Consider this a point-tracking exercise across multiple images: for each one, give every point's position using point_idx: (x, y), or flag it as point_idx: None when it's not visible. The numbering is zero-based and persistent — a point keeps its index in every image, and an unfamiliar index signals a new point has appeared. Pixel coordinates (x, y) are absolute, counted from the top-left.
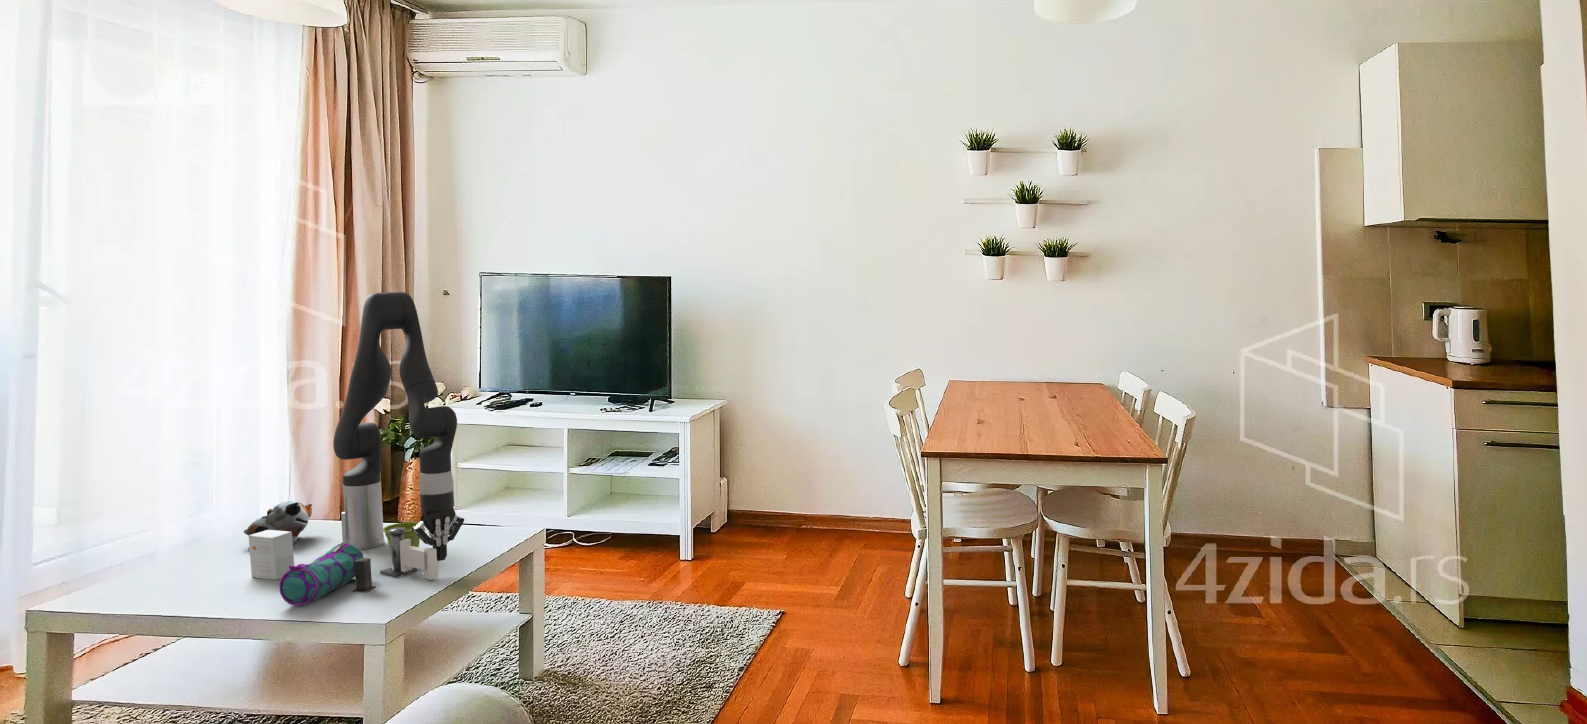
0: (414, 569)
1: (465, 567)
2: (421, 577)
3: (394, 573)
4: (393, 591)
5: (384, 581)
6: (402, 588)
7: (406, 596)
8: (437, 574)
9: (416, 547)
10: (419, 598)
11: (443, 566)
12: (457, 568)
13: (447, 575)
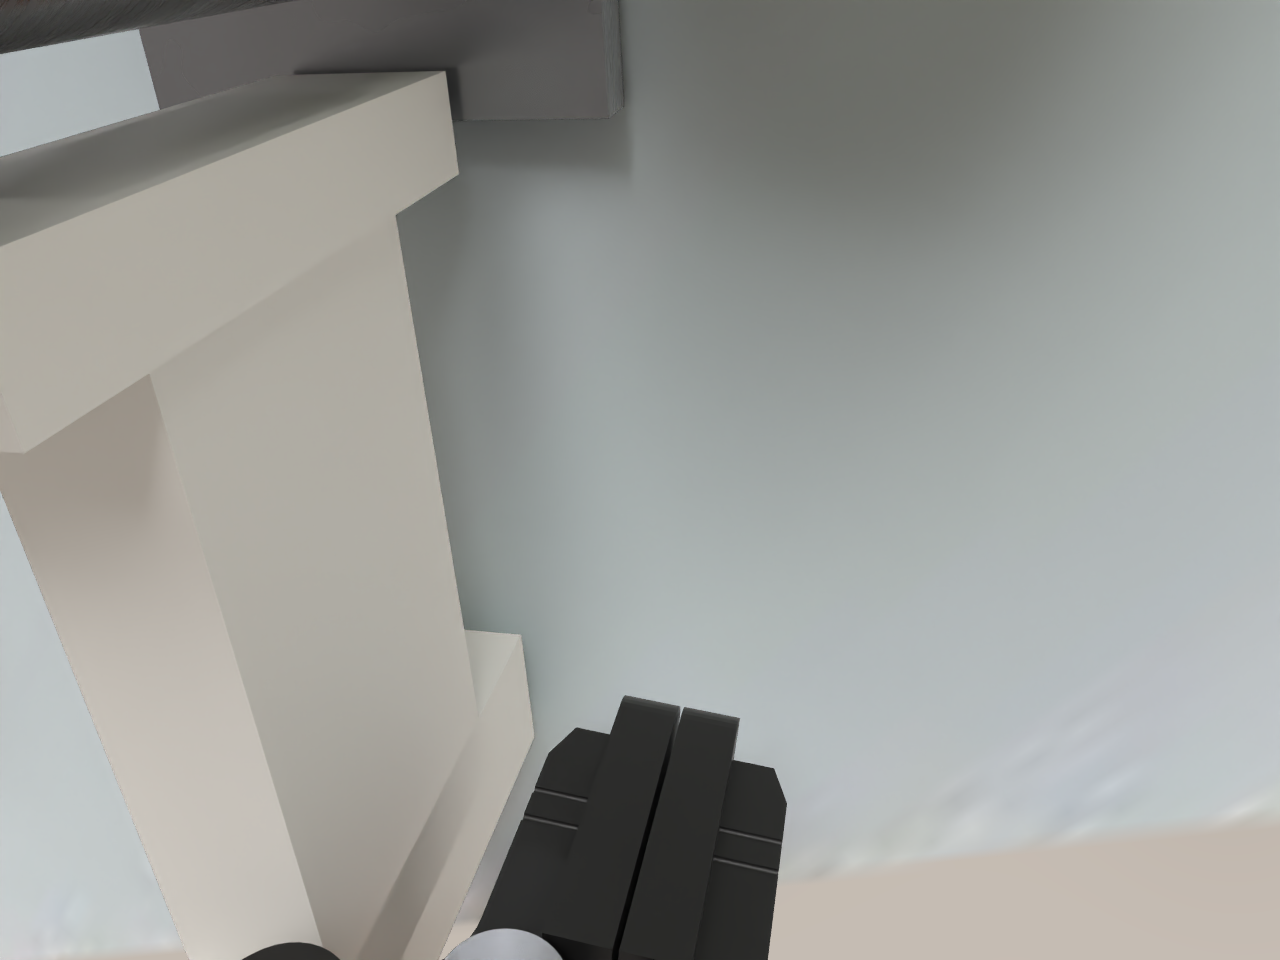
0: (548, 112)
1: (1157, 676)
2: (470, 458)
3: (170, 38)
4: (9, 571)
5: (15, 109)
6: None
7: (71, 786)
8: (517, 771)
9: (201, 652)
10: (143, 907)
11: (1060, 314)
12: (1060, 607)
13: (732, 700)
